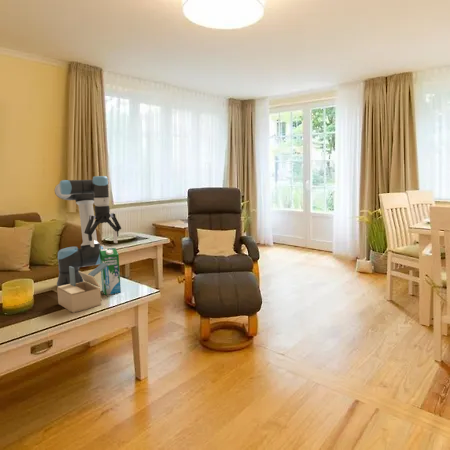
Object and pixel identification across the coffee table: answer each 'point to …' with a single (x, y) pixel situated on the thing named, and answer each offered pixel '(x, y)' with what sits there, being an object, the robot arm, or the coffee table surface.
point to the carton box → (80, 298)
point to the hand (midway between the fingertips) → (104, 244)
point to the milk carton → (110, 271)
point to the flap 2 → (93, 274)
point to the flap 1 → (71, 284)
